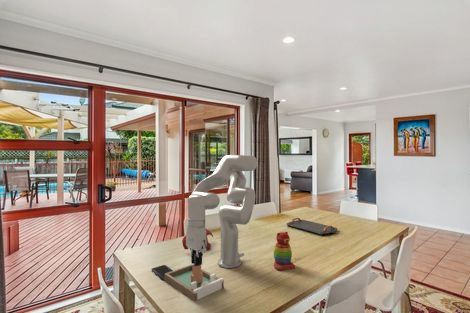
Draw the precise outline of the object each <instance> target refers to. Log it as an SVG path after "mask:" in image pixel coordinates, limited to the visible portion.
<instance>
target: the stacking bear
mask: <svg viewBox="0 0 470 313" xmlns="http://www.w3.org/2000/svg"><path fill="white" fill-rule="evenodd" d="M275 237H276V238H275V239H276V243H275V245H274V248H273V258H274V262H273V267H274V269H275V270H276V271H279V272H280V271H281V272H282V271H284V270H295V269H296V265H295V263H293V262H291V261H292V258H293V257H292V254H293V253H292V247H291V244H290V243H289V242H290V240H291V238H290V237H291V236H290V235H289V232H288V231H284V232H283V231H282V232H281V231H280V232H277V233H276V236H275Z"/></svg>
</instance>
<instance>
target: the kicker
mask: <svg viewBox="0 0 470 313" xmlns="http://www.w3.org/2000/svg"><path fill="white" fill-rule="evenodd" d="M196 257H197V255H196V253H194V264H192V275H191V283H192V282H194V281H196V282H197V284H198V283H201V282H203V273H202V272H201V269H202V264H201V265H199V266H196Z"/></svg>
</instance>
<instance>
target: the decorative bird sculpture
mask: <svg viewBox="0 0 470 313" xmlns="http://www.w3.org/2000/svg"><path fill="white" fill-rule="evenodd" d="M206 236H207V247H206V251H210V249H211V247H212V244H211V243H210V242H209V239H208V236H211V237H212V238H214V235H213V233H212V231H211V230H209V229H207V228H206ZM181 241H182V242H181V244H182V247H183V249H184V250H190V248H189V247H187V246H186V235H184V237H183V238H182V240H181Z"/></svg>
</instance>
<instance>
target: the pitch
mask: <svg viewBox="0 0 470 313" xmlns="http://www.w3.org/2000/svg"><path fill="white" fill-rule="evenodd" d="M192 265H193V264H192V263H191V264H189V265H185V266H183V267H179V268H177V269H175V270H173V271H171V272H168V273H165V274H164V279H165V282H166V283H168V284H169V285H171V286H172V287H174V288H175V289H176V290H178V291H179V292H181V293H183V294H184V295H185V296H186V297H187V298H189V299H191V300H192V301H194V302H196V301H198V300H200V299H203V298H204V297H207V296H209V295H211V294H213V293H215V292H217V291H219V290H221V289H223V288H225V287H224V286H225V285H224V283H225V282H224V281H225V279H224V277H220V278H219V277H217V274H216V273H215V272H214V273H212V274H211V273H209V272H208V271H206V270H204V269H202V268H201V272H202V273H203V282H204V281H207V282H208V284H206V285H204V286H201V284H202V283H203V282H201V283H198V284H197V282H196V281H194V282H192V283H191V275H192Z"/></svg>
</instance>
